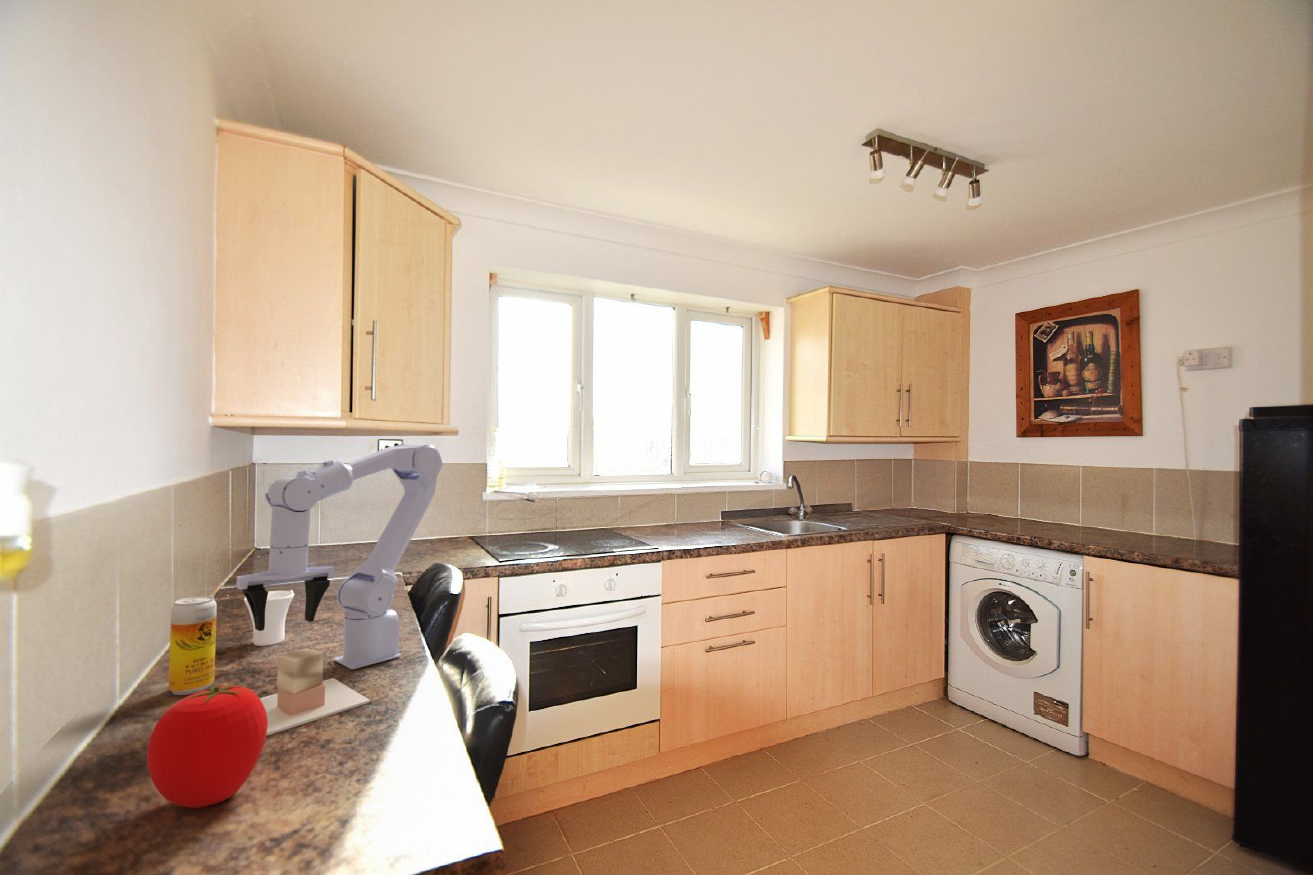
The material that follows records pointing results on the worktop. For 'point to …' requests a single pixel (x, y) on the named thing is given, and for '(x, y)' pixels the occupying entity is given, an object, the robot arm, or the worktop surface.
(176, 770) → the tomato
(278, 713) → the build mat
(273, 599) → the cup
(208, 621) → the beer can
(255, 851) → the worktop surface
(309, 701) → the terracotta block
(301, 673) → the maple block
